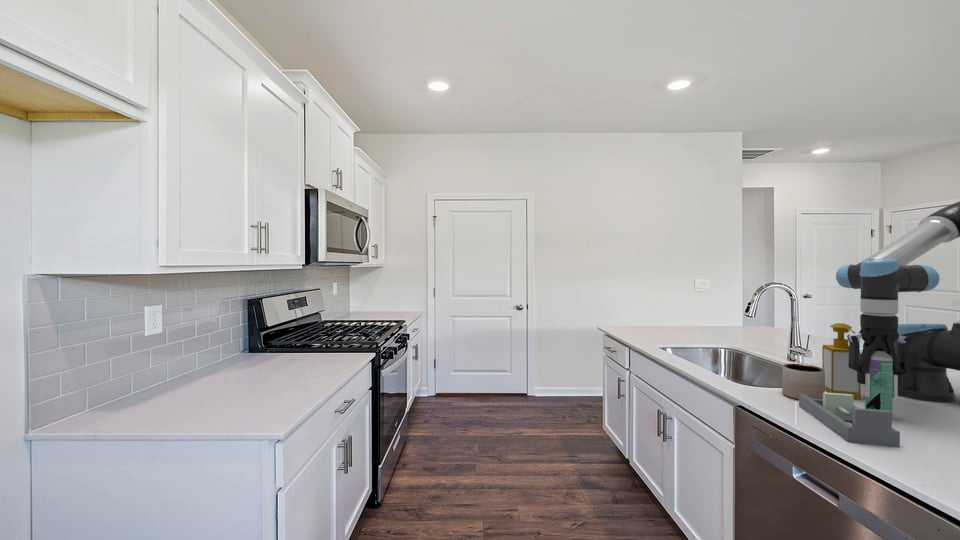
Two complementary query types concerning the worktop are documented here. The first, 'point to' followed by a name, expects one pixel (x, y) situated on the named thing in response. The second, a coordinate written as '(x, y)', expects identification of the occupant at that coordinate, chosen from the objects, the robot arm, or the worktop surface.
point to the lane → (856, 423)
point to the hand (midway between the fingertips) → (878, 396)
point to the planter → (803, 381)
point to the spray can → (880, 381)
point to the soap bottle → (840, 365)
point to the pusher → (839, 404)
